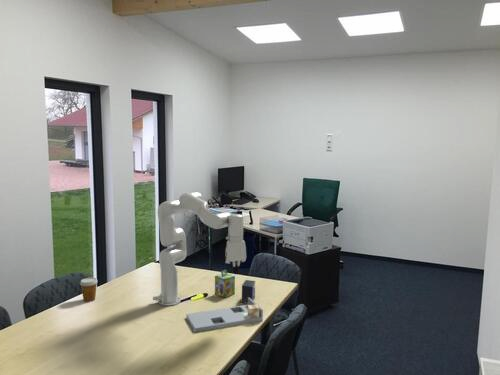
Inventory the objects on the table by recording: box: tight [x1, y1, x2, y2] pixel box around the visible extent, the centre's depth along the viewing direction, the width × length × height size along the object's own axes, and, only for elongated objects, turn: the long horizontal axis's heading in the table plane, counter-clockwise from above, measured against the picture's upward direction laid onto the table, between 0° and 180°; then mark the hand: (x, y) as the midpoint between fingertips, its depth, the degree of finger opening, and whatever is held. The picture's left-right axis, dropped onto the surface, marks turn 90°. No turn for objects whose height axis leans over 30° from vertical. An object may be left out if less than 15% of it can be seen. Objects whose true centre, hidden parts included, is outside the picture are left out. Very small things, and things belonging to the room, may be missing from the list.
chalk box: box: [214, 269, 236, 298], centre depth 244 cm, size 9×9×15 cm
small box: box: [241, 279, 256, 304], centre depth 235 cm, size 11×6×10 cm, turn 168°
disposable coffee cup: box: [79, 277, 99, 303], centre depth 233 cm, size 10×10×12 cm
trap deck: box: [185, 298, 264, 333], centre depth 208 cm, size 36×18×6 cm, turn 113°
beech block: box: [247, 303, 260, 318], centre depth 208 cm, size 5×5×5 cm
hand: (235, 273), depth 205 cm, fingers closed
